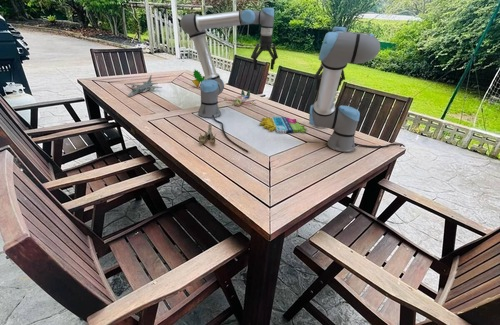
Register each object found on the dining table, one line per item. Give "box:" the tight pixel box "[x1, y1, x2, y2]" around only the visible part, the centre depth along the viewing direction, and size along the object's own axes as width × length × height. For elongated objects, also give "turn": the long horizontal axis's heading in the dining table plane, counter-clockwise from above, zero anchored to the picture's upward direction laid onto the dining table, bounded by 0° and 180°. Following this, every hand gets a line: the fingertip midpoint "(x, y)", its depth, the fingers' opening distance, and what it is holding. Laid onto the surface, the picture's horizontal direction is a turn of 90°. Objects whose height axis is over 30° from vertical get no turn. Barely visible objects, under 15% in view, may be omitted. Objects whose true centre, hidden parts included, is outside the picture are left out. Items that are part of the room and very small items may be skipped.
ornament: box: [191, 69, 205, 89], centre depth 252 cm, size 21×8×15 cm, turn 105°
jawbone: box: [198, 123, 217, 146], centre depth 145 cm, size 9×15×10 cm
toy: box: [223, 89, 257, 106], centre depth 219 cm, size 28×7×30 cm
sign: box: [259, 116, 307, 134], centre depth 176 cm, size 26×2×30 cm
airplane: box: [126, 74, 163, 98], centre depth 227 cm, size 38×31×10 cm
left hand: (263, 69), depth 179 cm, fingers open, 13 cm apart
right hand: (326, 90), depth 169 cm, fingers open, 13 cm apart
